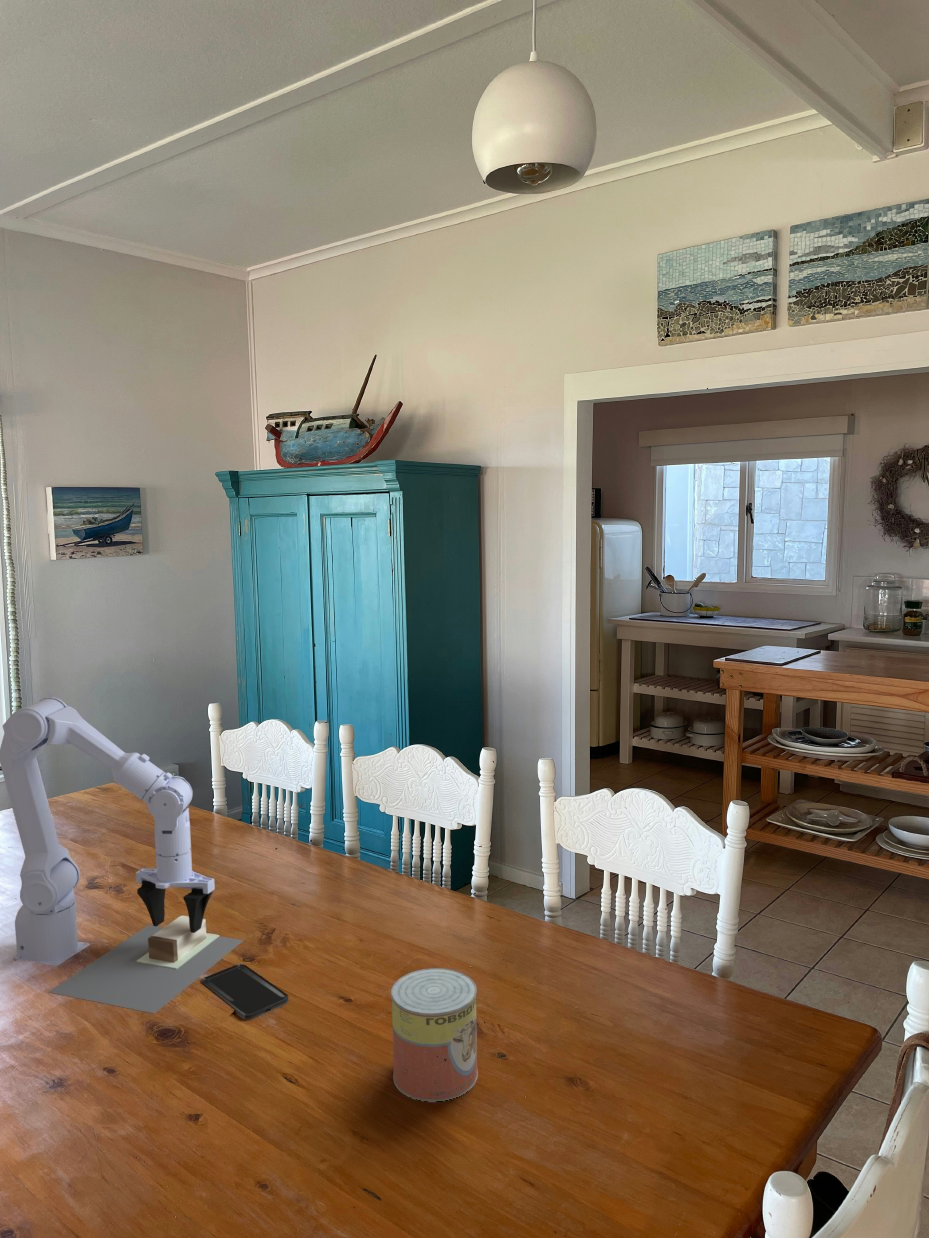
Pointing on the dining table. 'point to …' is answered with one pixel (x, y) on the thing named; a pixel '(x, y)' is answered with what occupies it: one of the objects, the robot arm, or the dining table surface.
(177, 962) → the pad
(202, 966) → the mat
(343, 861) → the dining table surface
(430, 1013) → the canned food
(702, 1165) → the dining table surface
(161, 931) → the card box
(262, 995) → the phone
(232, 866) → the dining table surface
